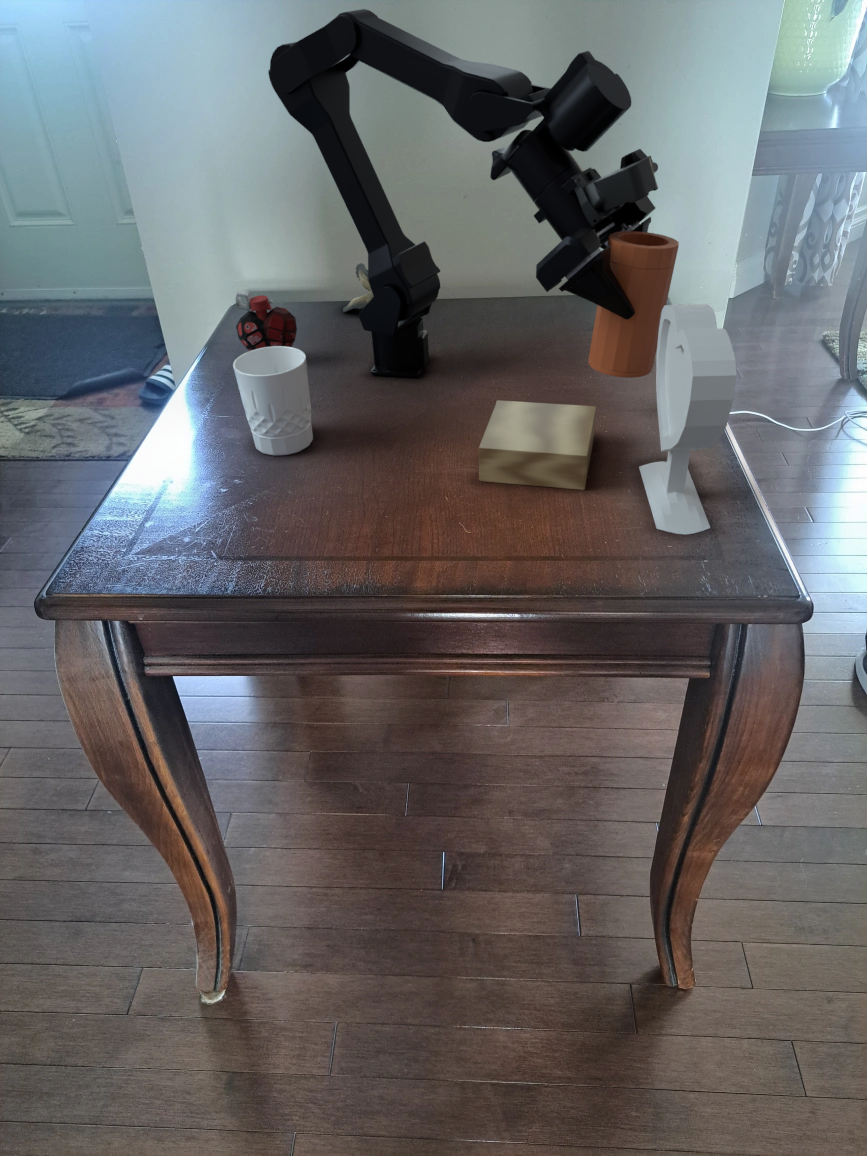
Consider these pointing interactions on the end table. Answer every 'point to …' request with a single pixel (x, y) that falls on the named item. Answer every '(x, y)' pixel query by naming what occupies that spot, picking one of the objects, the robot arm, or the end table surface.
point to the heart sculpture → (687, 410)
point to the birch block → (538, 444)
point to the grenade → (264, 323)
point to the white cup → (276, 398)
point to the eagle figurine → (363, 278)
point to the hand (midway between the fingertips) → (644, 304)
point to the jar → (634, 304)
